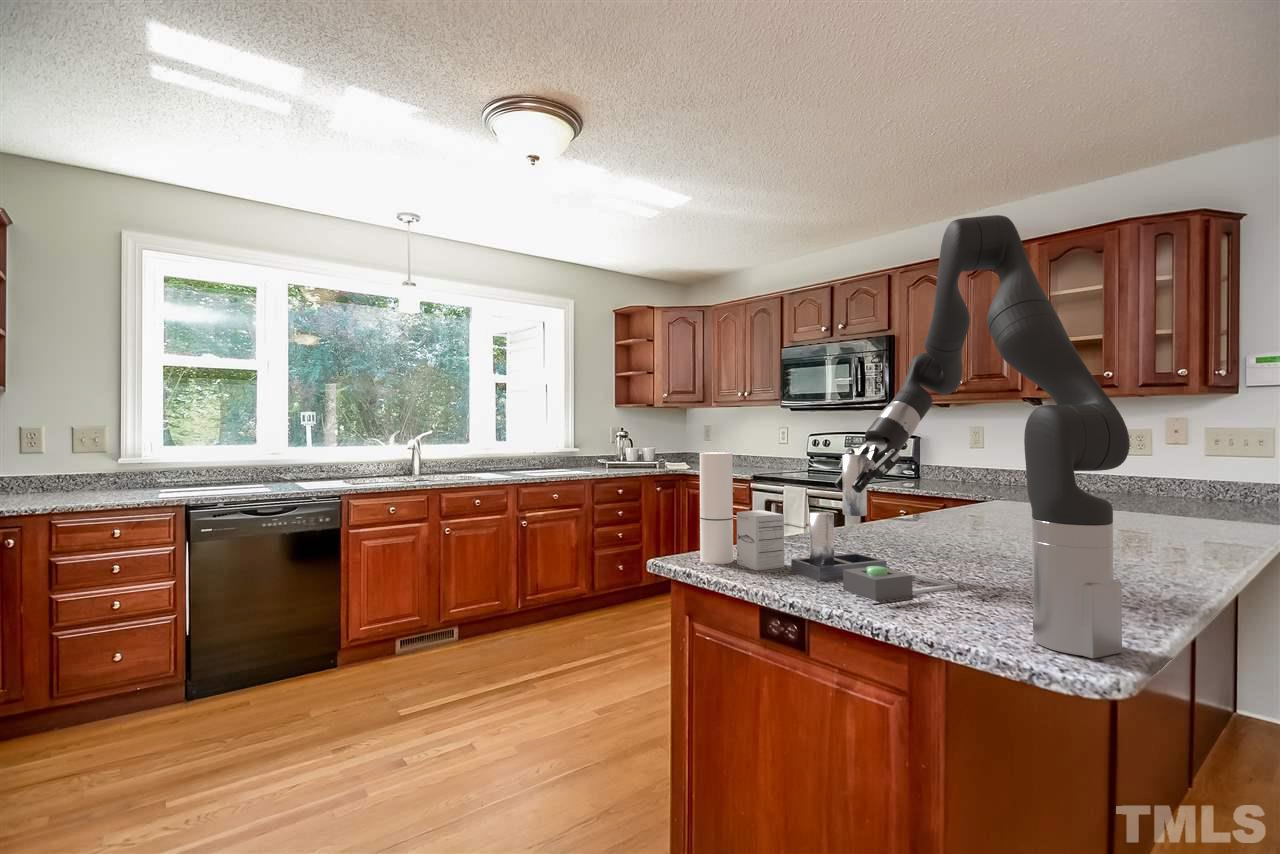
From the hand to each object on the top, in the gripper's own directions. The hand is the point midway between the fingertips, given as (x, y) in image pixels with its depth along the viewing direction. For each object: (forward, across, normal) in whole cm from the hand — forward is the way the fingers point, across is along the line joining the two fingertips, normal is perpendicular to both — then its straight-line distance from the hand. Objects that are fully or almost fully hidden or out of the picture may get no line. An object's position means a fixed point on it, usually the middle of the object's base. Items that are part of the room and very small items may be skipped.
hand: (846, 488), depth 125 cm
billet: (+2, 0, +5) cm, 6 cm away
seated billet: (+16, 0, +7) cm, 18 cm away
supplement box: (+22, -12, +4) cm, 25 cm away
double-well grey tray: (+14, 0, +11) cm, 18 cm away
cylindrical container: (+26, -20, 0) cm, 33 cm away
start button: (+15, +15, +6) cm, 22 cm away
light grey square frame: (+10, +13, +16) cm, 23 cm away
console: (+17, +15, +8) cm, 24 cm away
